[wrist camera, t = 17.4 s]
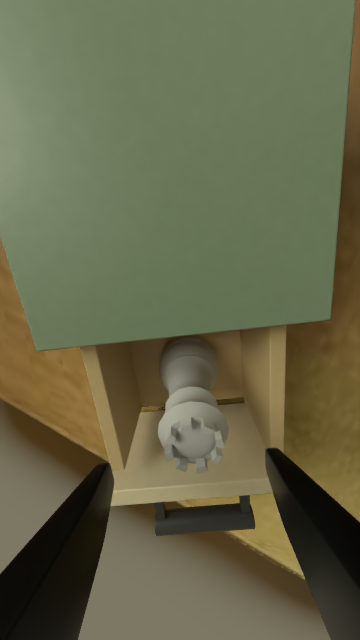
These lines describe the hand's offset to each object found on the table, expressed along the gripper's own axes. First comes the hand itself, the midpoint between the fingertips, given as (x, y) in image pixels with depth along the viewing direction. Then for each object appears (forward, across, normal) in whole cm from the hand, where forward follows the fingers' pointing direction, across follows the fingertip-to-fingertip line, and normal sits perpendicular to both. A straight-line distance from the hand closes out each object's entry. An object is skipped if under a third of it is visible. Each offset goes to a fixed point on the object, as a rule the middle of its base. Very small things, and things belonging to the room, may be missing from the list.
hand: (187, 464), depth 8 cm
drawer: (+10, 0, +2) cm, 10 cm away
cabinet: (+11, 0, -11) cm, 16 cm away
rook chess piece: (+9, 0, 0) cm, 9 cm away
